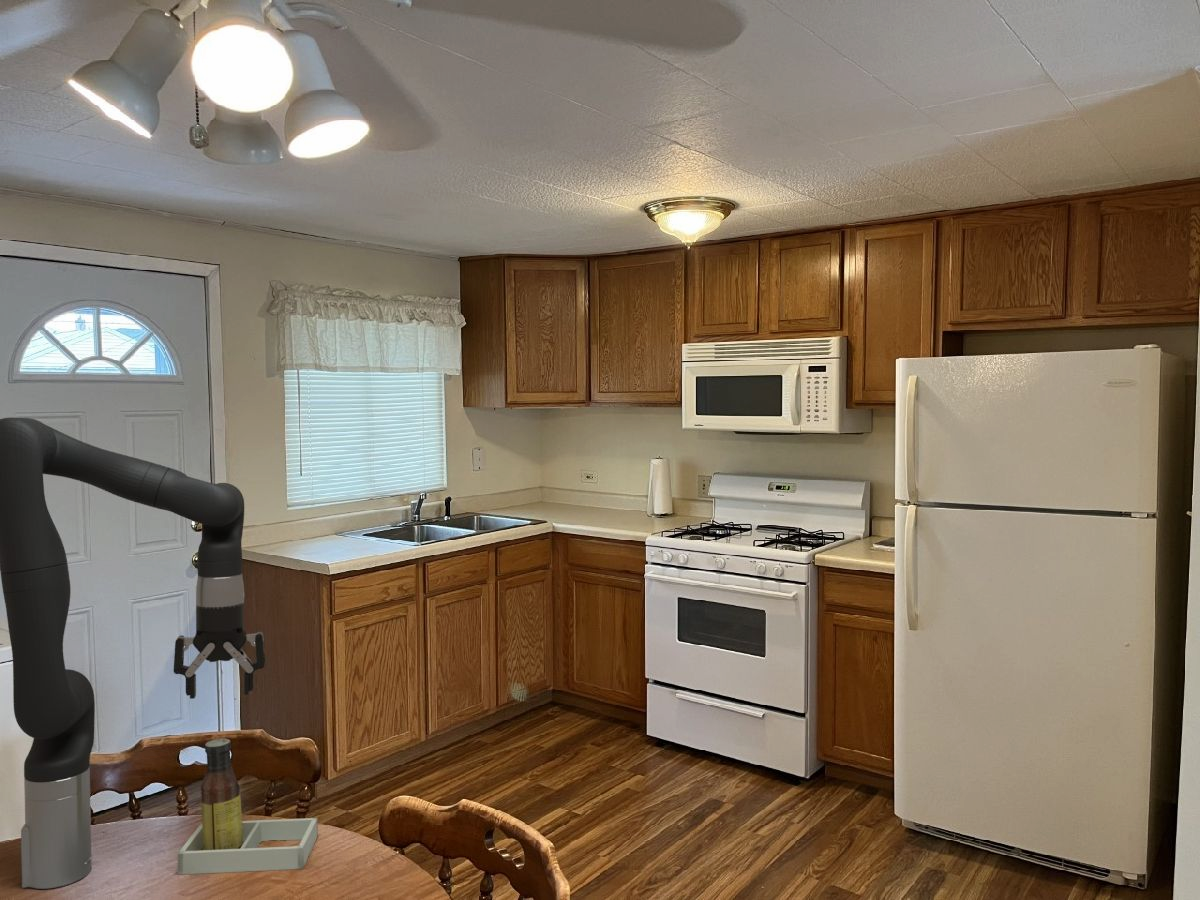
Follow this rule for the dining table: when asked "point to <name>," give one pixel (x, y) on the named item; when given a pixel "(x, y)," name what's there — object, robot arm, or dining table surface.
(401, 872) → the dining table surface
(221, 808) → the sauce bottle
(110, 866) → the dining table surface
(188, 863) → the corral
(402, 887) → the dining table surface
